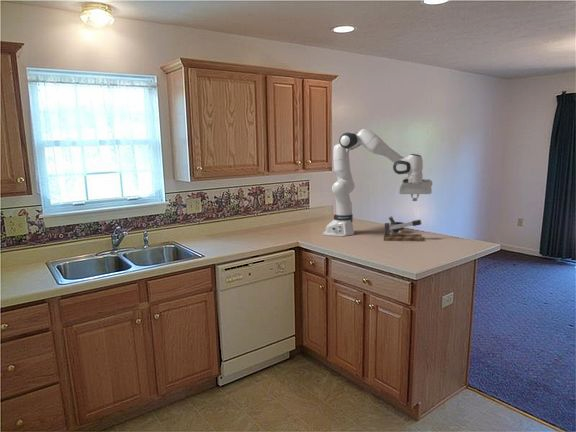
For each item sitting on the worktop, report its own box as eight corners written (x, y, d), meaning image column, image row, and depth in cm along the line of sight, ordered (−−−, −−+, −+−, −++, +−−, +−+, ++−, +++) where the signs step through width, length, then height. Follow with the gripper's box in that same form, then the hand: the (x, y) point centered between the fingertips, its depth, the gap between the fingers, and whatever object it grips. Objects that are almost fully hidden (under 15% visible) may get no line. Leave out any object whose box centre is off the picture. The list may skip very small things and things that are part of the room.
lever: (389, 230, 271) (388, 226, 271) (389, 229, 275) (388, 225, 274) (421, 224, 265) (421, 220, 265) (421, 223, 269) (420, 219, 269)
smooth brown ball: (397, 236, 270) (397, 230, 269) (397, 235, 274) (397, 228, 273) (404, 236, 269) (404, 230, 268) (404, 235, 273) (404, 228, 272)
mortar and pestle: (401, 231, 296) (401, 214, 294) (406, 233, 287) (406, 216, 285) (386, 232, 294) (386, 215, 292) (391, 234, 285) (391, 217, 283)
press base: (383, 240, 269) (383, 225, 267) (384, 236, 280) (384, 222, 279) (422, 241, 263) (422, 225, 261) (421, 237, 274) (421, 222, 273)
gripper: (431, 178, 264) (431, 200, 266) (398, 179, 269) (398, 200, 271) (432, 179, 258) (432, 201, 260) (399, 180, 263) (398, 201, 265)
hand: (414, 201), depth 266 cm, fingers closed
